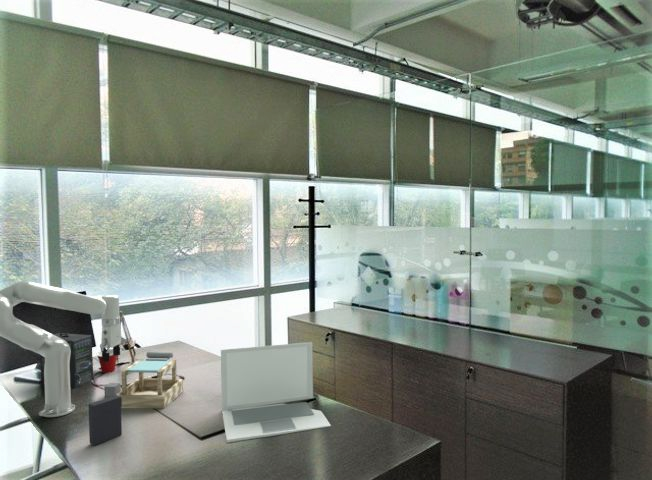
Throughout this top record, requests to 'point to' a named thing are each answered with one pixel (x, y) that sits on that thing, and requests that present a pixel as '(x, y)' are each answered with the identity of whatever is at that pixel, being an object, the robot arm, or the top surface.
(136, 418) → the top surface
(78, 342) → the headset box
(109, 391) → the basalt block
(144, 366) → the hatch
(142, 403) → the tan crate frame
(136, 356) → the top surface
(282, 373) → the laptop
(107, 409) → the calculator
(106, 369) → the plastic cup
